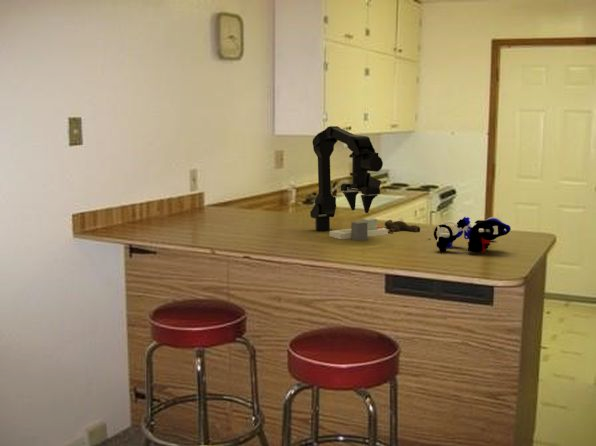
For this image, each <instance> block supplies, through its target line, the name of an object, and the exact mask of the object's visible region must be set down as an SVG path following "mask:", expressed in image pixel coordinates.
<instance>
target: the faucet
mask: <svg viewBox="0 0 596 446" xmlns="http://www.w3.org/2000/svg"><path fill="white" fill-rule="evenodd" d="M384 226H385V228H386V229H388V235H389V234H390V235H393V234H394V233H399V232H410V233H420V232H421V227H420V226H419V225H416V224H413V225H412V224H411V225H409V224H407V223H406V222H405V221H400V220H395V221H394V222H393V220H392V219H388V220H387V221H385V222H384Z"/></svg>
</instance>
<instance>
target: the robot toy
mask: <svg viewBox="0 0 596 446" xmlns="http://www.w3.org/2000/svg"><path fill="white" fill-rule="evenodd" d="M470 219H471V218H470V217H469V216H467V217H466V216H464V217H463V218H460V219H459V220H458V221H457V222H455V221H453V220H446V221H444V222H443V223H442V224H439V225H437V226H436V227H435V228H434V231H433V237H434V239H435V240H436V242H435V243H436V244H435V246H436V248H438V249H439V253H445V252H447V249H451V248H452V247H453V243H454V242H455V241H456V240H457V239H459V238H460V237H462V235H464V236H463V238H464V239H465V240H468V242H467V250H468V252H470V253H484V251H486V250H487V249H488V248H489V247H490V245H491V243H498V240H496V239H497V238H500V237H502V236H506V235H508V233H510V232H511V226H510V224H507V223H504V222H503V221H502V220H501V219H500V218H498V217H495V216H491V217H489V218H488V217H487V219H485V220H484V219H482V220H481V219H479V220H478V219H477V220H476V221H475V222H474V225H473V226H472V224H471V221H470ZM448 224H451V225H454V227H453V228H452V227H450V226H449V225H448ZM444 231H445V232H444Z"/></svg>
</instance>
